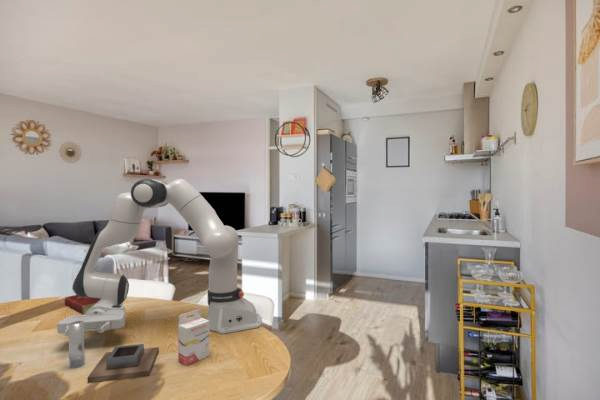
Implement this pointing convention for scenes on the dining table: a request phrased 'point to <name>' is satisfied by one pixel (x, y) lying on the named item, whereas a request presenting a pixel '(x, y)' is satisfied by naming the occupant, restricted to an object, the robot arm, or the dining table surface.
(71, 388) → the dining table surface
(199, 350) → the ink cartridge box
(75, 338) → the steel pin
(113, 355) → the socket collar
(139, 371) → the socket board
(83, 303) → the hardcover book
